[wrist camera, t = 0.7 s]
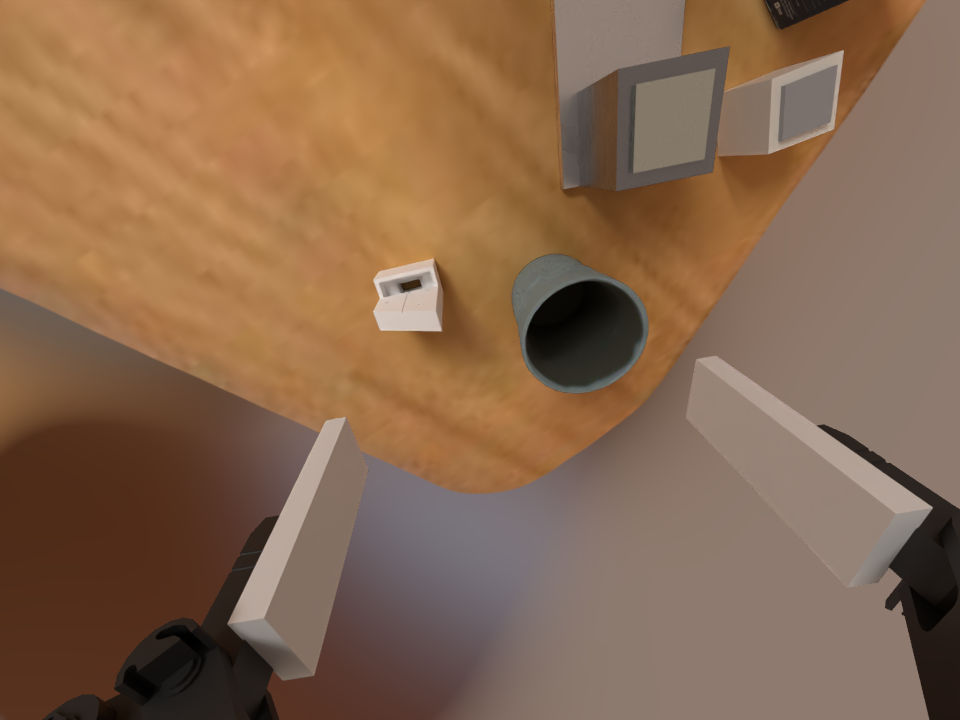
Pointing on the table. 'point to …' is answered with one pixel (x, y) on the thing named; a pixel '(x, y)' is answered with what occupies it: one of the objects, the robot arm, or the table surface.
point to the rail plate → (604, 53)
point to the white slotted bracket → (409, 298)
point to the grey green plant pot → (577, 324)
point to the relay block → (780, 107)
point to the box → (797, 10)
